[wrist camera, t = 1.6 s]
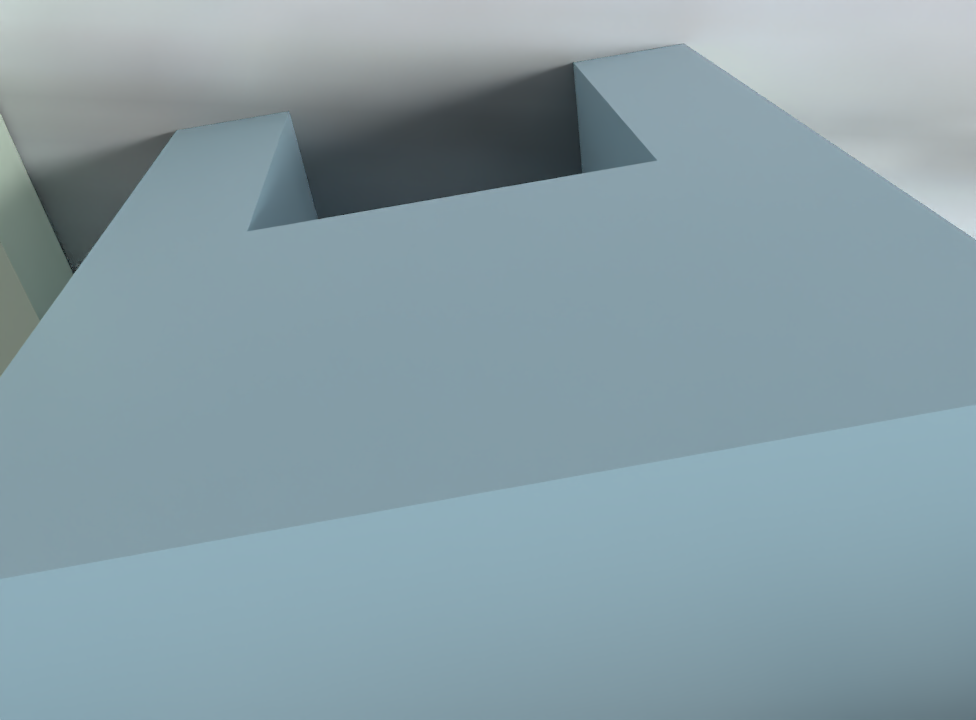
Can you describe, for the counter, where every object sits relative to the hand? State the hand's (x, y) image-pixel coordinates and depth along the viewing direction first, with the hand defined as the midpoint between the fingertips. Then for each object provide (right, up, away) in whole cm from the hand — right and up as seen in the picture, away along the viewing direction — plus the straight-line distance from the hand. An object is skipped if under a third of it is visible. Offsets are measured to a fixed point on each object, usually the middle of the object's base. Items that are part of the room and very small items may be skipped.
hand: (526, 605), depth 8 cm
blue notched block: (0, +1, +2) cm, 3 cm away
